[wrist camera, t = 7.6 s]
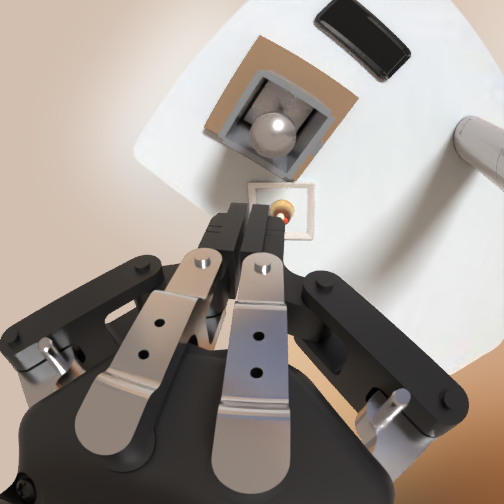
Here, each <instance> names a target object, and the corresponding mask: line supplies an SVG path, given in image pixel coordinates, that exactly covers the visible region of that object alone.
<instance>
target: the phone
mask: <svg viewBox="0 0 504 504" xmlns="http://www.w3.org/2000/svg"><path fill="white" fill-rule="evenodd" d="M316 22H317V23H318V24H319V25H320V26H321V27H323V28H324V29H325V30H327V31H328V32H329V33H330V34H332V35H333V36H334V37H335V38H337V39H338V40H339V41H340V42H341V43H343V44H344V45H345V46H346V47H347V48H348V49H350V50H351V51H352V52H353V53H354V54H355V55H356V56H357V57H359V58H360V59H361V60H362V61H363V62H364V63H365V64H366V65H367V66H368V67H369V68H370V69H371V70H372V71H373V72H374V73H376V74H377V75H378V76H379V77H380V78H382V79H389V78H390V77H391V76H392V75H393V74H394V73H395V72H396V71H397V70H398V69H399V68H400V67H401V66H402V65H403V64H404V63H405V62H406V61H407V60H408V59H409V58H410V57H411V52H410V50H409V49H408V48H407V46H406V45H405V44H404V43H403V42H402V41H401V40H400V39H399V38H398V37H397V36H396V35H395V34H394V33H393V32H392V31H391V30H390V29H388V28H387V27H386V26H385V25H384V24H383V23H382V22H381V21H380V20H379V19H378V18H377V17H375V16H374V15H373V14H372V13H371V12H370V11H368V10H367V9H366V8H365V7H364V6H363V5H361V4H360V3H359V2H358V1H356V0H332V1H331V2H330V3H329V4H328V5H327V6H326V7H325V8H324V9H323V10H322V11H321V12H320V13H319V14H318V15H317V16H316Z"/></svg>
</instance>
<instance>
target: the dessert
mask: <svg viewBox="0 0 504 504" xmlns="http://www.w3.org/2000/svg"><path fill="white" fill-rule="evenodd" d="M247 187H248V199H249V210H250V212H251V209H252V205H253V204H257V202H256V188H308V213H307V233H286V232H285V235H284V239H289V240H313V237H314V217H315V190H316V183H313V182H253V183H247ZM270 213H271V216H273V217H281V218H282V220H283V221H284V223H285V225H286V224H287V223H289V221H290V220H291V218H292V217H293V215H294V207H293V205H292V204H291V203H290V202H288V201H286V200H278V201H275V202H274V203H273V204H272V205H271V207H270Z"/></svg>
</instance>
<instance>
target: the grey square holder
mask: <svg viewBox="0 0 504 504" xmlns="http://www.w3.org/2000/svg"><path fill="white" fill-rule="evenodd" d="M269 80H270V81H272V82H274V83H275V84H277V85H279V86H280V87H282V88H284V89H285V90H287V91H289V92H290V93H292V94H293V95H295V96H297V97H298V98H300V99H301V100H303V101H304V102H306V103H307V104H309V105H311V106H312V107H314V108H313V110H312V111H311V113H310V114H309V115H308V117H307V118H306V120H305V121H304V122H303V124H302V125H301V127H300V128H299V129H298V131H297V132H296V142H295V145H294V147H293V149H292V150H291V151H290V152H289V153H288V154H287V155H285V156H283V157H280V158H267V157H264V156H262V155H260V154H258V153H257V152H256V151H255V150H254V148H253V147H252V145H251V143H250V139H249V133H250V129H251V127H252V124H250V123H249V122H247V121H245V120H244V118H245V116H246V115H247V113H248V112H249V110H250V108H251V107H252V105H253V104H254V102H255V101H256V99H257V98H258V96H259V94H260V93H261V91H262V90H263V88H264V87H265V85H266V84H267V82H268V81H269ZM358 99H359V98H358V97H357V96H356V95H354V94H353V93H352V92H350V91H349V90H348V89H346V88H345V87H343V86H342V85H341V84H339V83H338V82H336V81H335V80H334V79H332V78H331V77H329V76H328V75H326V74H325V73H323V72H322V71H320V70H319V69H317V68H316V67H314V66H313V65H311V64H309V63H308V62H306V61H305V60H303V59H301V58H300V57H298V56H296V55H295V54H293V53H291V52H290V51H288V50H286V49H284V48H283V47H281V46H279V45H277V44H275V43H274V42H272V41H270V40H268V39H266V38H264V37H262V36H259V37H258V39H257V40H256V41H255V43H254V44H253V46H252V47H251V49H250V50H249V52H248V54H247V55H246V57H245V58H244V60H243V61H242V63H241V64H240V66H239V68H238V69H237V71H236V72H235V74H234V76H233V77H232V79H231V80H230V82H229V84H228V85H227V87H226V89H225V90H224V92H223V94H222V95H221V97H220V99H219V101H218V102H217V104H216V106H215V108H214V109H213V111H212V113H211V115H210V116H209V118H208V120H207V122H206V124H205V126H204V128H206V129H208V130H210V131H212V132H214V133H215V134H217V135H218V136H217V137H219V138H220V139H222V140H223V141H222V142H221V143H223V144H225V145H226V146H228V147H230V148H232V149H233V150H235V151H237V152H239V153H240V154H242V155H244V156H246V157H247V158H249V159H251V160H252V161H254V162H256V163H257V164H259V165H261V166H262V167H264V168H266V169H267V170H269V171H271V172H272V173H274V174H276V175H277V176H279V177H280V178H282V179H283V178H284V177H286V178H288V179H290V180H291V178H292V179H293V180H295V181H297V179H298V178H299V177H300V175H301V174H302V173H303V171H304V170H305V169H306V167H307V166H308V165H309V163H310V162H311V161H312V159H313V158H314V157H315V155H316V154H317V153H318V151H319V150H320V149H321V147H322V146H323V145H324V143H325V142H326V141H327V140H328V138H329V137H330V136H331V134H332V133H333V132H334V130H335V129H336V128H337V126H338V125H339V124H340V122H341V121H342V120H343V118H344V117H345V116H346V115H347V113H348V112H349V111H350V109H351V108H352V107H353V105H354V104H355V103H356V101H357V100H358Z"/></svg>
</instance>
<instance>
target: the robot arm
mask: <svg viewBox="0 0 504 504" xmlns="http://www.w3.org/2000/svg"><path fill="white" fill-rule="evenodd" d="M454 144H455V148H456V151H457V153H458V155H459V156H460V157H461V158H462V159H464V160H465V161H466V162H468V163H469V164H470V165H472V166H473V167H474V168H475V169H477V170H478V171H479V172H480V173H482V174H483V175H484V176H485V177H487V178H488V179H489V180H490V181H492V182H493V183H494V184H495V185H496V186H498V187H499V188H500V189H501V190H502V191H503V192H504V129H502V128H500V127H498V126H496V125H494V124H492V123H490V122H488V121H485V120H483V119H481V118H479V117H476V116H468V117H465V118H464V119H462V120H461V121H460V122H459V124H458V125H457V127H456V130H455V134H454ZM284 235H285V223H284V221H283V220H282V218H281V217H273V216H269V205H260V204H253V205H252V209H251V212H250V216H249V205H248V204H244V203H231V205H230V208H229V210H228V212H227V213H218V214H217V215H216V216H214V217H213V218H212V219H211V221H210V223H209V225H208V227H207V229H206V232H205V234H204V236H203V238H202V240H201V242H200V244H199V247H198V249H195V250H192V251H190V252H189V253H187V255H185V257H184V258H183V260H182V262H181V263H179V264H175V265H167V266H162V265H161V261H160V260H159V259H158V258H157V257H155V256H152V255H142V256H138V257H135V258H133V259H131V260H129V261H127V262H126V263H124V264H122V265H120V266H118V267H116V268H114V269H112V270H110V271H108V272H106V273H105V274H103V275H101V276H99V277H97V278H95V279H93V280H91V281H90V282H88V283H86V284H84V285H82V286H80V287H79V288H77V289H75V290H73V291H71V292H70V293H68V294H66V295H64V296H63V297H60V298H59V299H57V300H55V301H53V302H52V303H50V304H48V305H46V306H45V307H43V308H41V309H40V310H38V311H36V312H34V313H33V314H31V315H29V316H28V317H26V318H24V319H22V320H21V321H19V322H18V323H16V324H14V325H12V326H11V327H9V328H8V329H7V330H6V331H5V332H4V333H3V335H2V337H1V339H0V351H1V353H2V354H3V355H4V356H5V358H6V359H7V360H8V361H9V362H10V363H11V364H12V366H13V368H14V369H15V370H16V371H17V372H18V375H19V378H20V382H21V385H22V388H23V391H24V394H25V397H26V400H27V403H28V406H29V410H28V411H27V412H26V413H25V415H24V417H23V418H22V421H21V423H20V427H19V434H18V435H19V466H18V473H17V476H16V479H15V481H14V482H13V484H12V485H11V486H10V487H9V488H8V489H6V490H5V491H4V492H3V493H1V494H0V504H394V496H395V492H394V486H393V481H395V480H396V479H397V478H398V477H399V476H400V475H401V474H402V473H403V472H404V471H405V470H406V469H407V468H408V467H409V466H410V465H411V464H412V463H413V462H414V461H415V460H416V459H417V458H418V457H419V456H420V455H421V453H423V451H424V450H425V449H426V448H427V447H428V446H429V445H430V444H431V443H432V442H433V441H435V440H436V439H437V438H439V437H440V436H442V435H443V434H445V433H446V432H448V431H449V430H451V429H452V428H453V427H455V426H456V425H457V424H459V423H460V422H461V421H462V420H463V419H464V418H465V417H466V415H467V413H468V409H469V401H468V397H467V395H466V393H465V391H464V390H463V388H462V387H461V386H460V385H458V384H457V383H456V381H454V380H453V379H452V378H451V377H450V376H449V375H448V374H447V373H446V372H445V371H444V370H443V369H442V368H441V367H440V366H439V365H438V364H437V363H435V362H434V361H433V360H432V359H431V358H430V357H429V356H428V355H427V354H426V353H425V352H424V351H423V350H422V349H420V348H419V347H418V346H417V345H416V344H415V343H414V342H413V341H412V340H411V339H409V338H408V337H407V336H406V335H405V334H404V333H403V332H402V331H401V330H400V329H398V328H397V327H396V326H395V325H394V324H393V323H392V322H391V321H389V320H388V319H387V318H386V317H385V316H384V315H383V314H382V313H380V312H379V311H378V310H377V309H376V308H375V307H374V306H373V305H371V304H370V303H369V302H368V301H367V300H366V299H364V298H363V297H362V296H361V295H360V294H359V293H358V292H356V291H355V290H354V289H353V288H352V287H351V286H349V285H348V284H347V283H346V282H345V281H344V280H342V279H341V278H340V277H339V276H337V275H336V274H334V273H331V272H328V271H314V272H311V273H309V274H308V275H306V277H302V276H299V275H296V274H294V273H292V272H291V271H289V270H288V269H287V268H286V267H285V265H284V263H283V253H284ZM239 282H240V285H239ZM238 286H239V292H238V300H237V301H236V302H235V304H234V310H233V317H232V325H231V332H230V339H229V347H228V349H226V350H214V348H215V345H216V342H217V339H218V336H219V333H220V330H221V327H222V324H223V321H224V318H225V315H226V305H227V301H228V299H235V298H236V295H237V290H238ZM132 300H134V301H135V304H136V308H134V309H133V310H131V311H129V312H127V313H126V314H124V315H122V316H120V317H119V318H117V319H116V320H114V321H112V322H110V323H107V324H105V319H106V317H107V315H108V314H110V313H111V312H113V311H115V310H116V309H118V308H120V307H121V306H123V305H125V304H127V303H129V302H130V301H132ZM287 334H290V335H293V336H294V340H295V342H296V344H297V345H298V346H299V347H300V348H301V349H302V351H303V352H304V353H305V354H306V355H307V356H308V357H309V359H310V360H311V361H312V362H313V363H314V364H315V365H316V367H317V368H318V369H319V370H320V371H321V372H322V373H323V375H324V376H325V377H326V378H327V379H328V380H329V381H330V382H331V384H332V385H333V386H334V387H335V388H336V389H337V390H338V391H339V392H340V394H341V395H342V396H343V397H344V398H345V399H346V400H347V401H348V403H349V404H350V405H351V406H352V407H353V408H354V409H355V410H356V411H357V413H358V415H357V417H356V421H355V427H356V430H357V433H358V434H359V436H360V438H361V439H362V442H363V443H362V442H361V441H360V440H359V438H358V437H357V436H356V435H355V434H354V432H353V431H352V430H351V429H350V428H349V426H348V425H347V424H346V423H345V422H344V420H343V419H342V418H341V417H340V416H339V414H338V413H337V412H336V411H335V410H334V408H333V407H332V406H331V405H330V403H329V402H328V401H327V400H326V399H325V397H324V396H323V395H322V394H321V393H320V391H319V390H318V389H317V388H316V386H315V385H314V384H313V383H312V381H310V379H309V378H308V377H307V376H306V375H304V374H303V373H302V372H300V371H299V370H298V369H296V368H294V367H292V366H291V365H289V364H288V335H287Z"/></svg>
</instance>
